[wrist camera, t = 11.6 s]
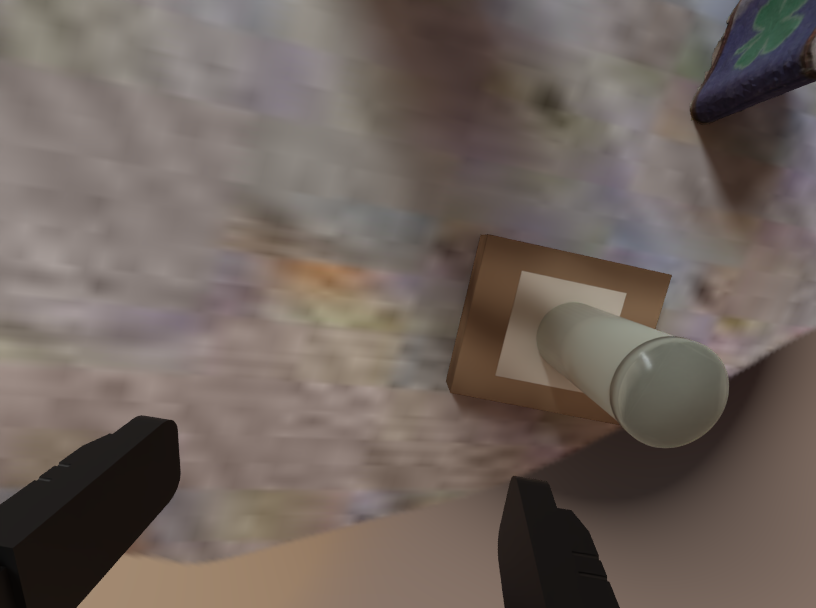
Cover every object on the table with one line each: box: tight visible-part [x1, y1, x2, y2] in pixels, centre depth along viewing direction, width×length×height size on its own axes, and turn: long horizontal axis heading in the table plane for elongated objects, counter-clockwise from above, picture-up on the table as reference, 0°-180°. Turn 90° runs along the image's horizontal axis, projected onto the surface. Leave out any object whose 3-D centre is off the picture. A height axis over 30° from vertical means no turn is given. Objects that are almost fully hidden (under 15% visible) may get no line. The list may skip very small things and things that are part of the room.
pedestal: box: [446, 234, 672, 425], centre depth 31 cm, size 12×14×3 cm
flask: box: [690, 0, 816, 124], centre depth 25 cm, size 9×3×11 cm, turn 159°
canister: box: [536, 302, 729, 448], centre depth 24 cm, size 5×5×11 cm
